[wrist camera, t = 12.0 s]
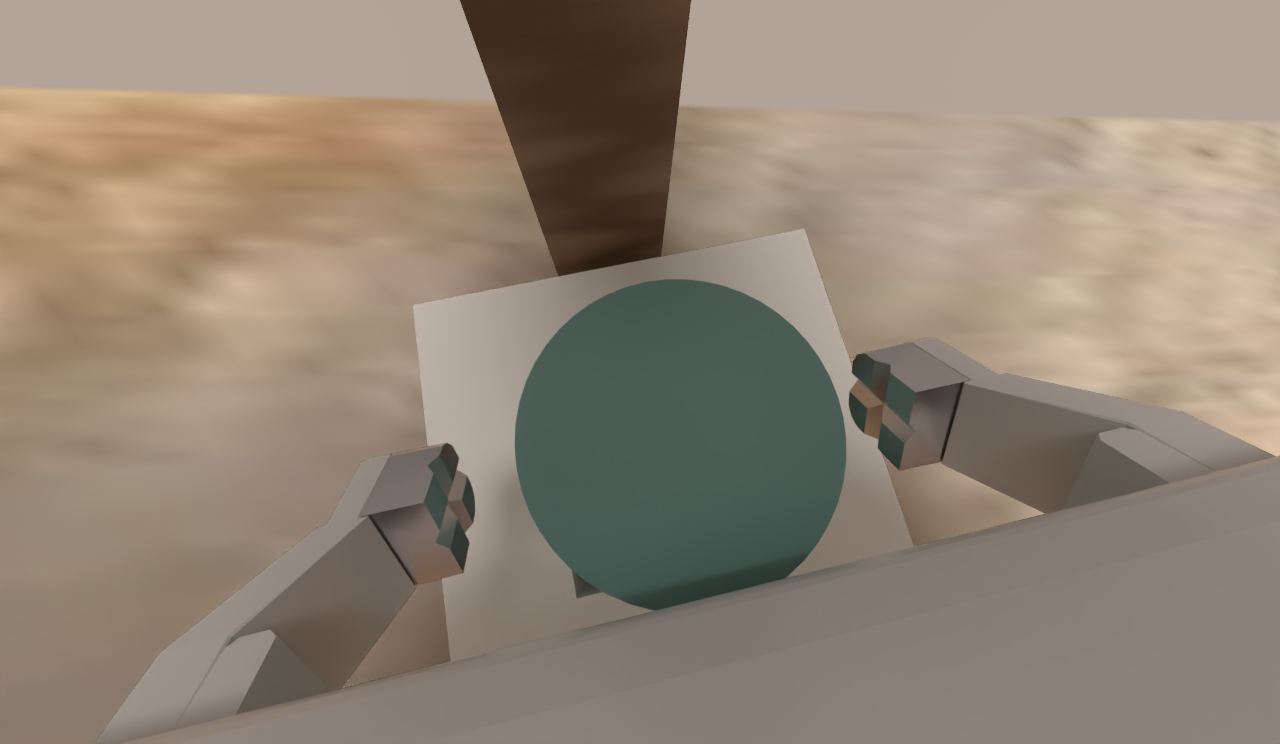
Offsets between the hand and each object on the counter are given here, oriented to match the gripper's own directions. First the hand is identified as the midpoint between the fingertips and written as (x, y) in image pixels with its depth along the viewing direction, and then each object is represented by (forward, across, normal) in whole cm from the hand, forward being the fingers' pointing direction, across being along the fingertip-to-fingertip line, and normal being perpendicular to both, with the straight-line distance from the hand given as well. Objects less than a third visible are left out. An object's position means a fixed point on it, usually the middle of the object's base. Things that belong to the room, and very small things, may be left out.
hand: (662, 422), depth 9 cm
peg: (+6, 0, +6) cm, 8 cm away
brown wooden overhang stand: (+9, 0, +3) cm, 9 cm away
